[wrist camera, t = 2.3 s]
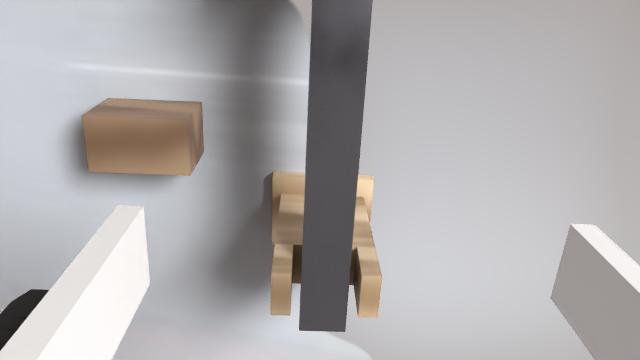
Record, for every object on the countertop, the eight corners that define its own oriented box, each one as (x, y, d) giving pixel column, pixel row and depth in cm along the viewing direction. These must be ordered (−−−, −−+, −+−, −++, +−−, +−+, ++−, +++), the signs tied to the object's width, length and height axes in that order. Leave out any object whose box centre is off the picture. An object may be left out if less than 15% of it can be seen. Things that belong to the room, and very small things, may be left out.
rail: (342, 309, 36) (345, 331, 34) (299, 308, 36) (299, 330, 34) (380, -166, 25) (387, -179, 23) (319, -170, 25) (320, -183, 23)
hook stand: (366, 240, 44) (386, 337, 33) (272, 237, 44) (259, 334, 32) (400, -123, 34) (447, -168, 22) (278, -130, 34) (261, -179, 22)
